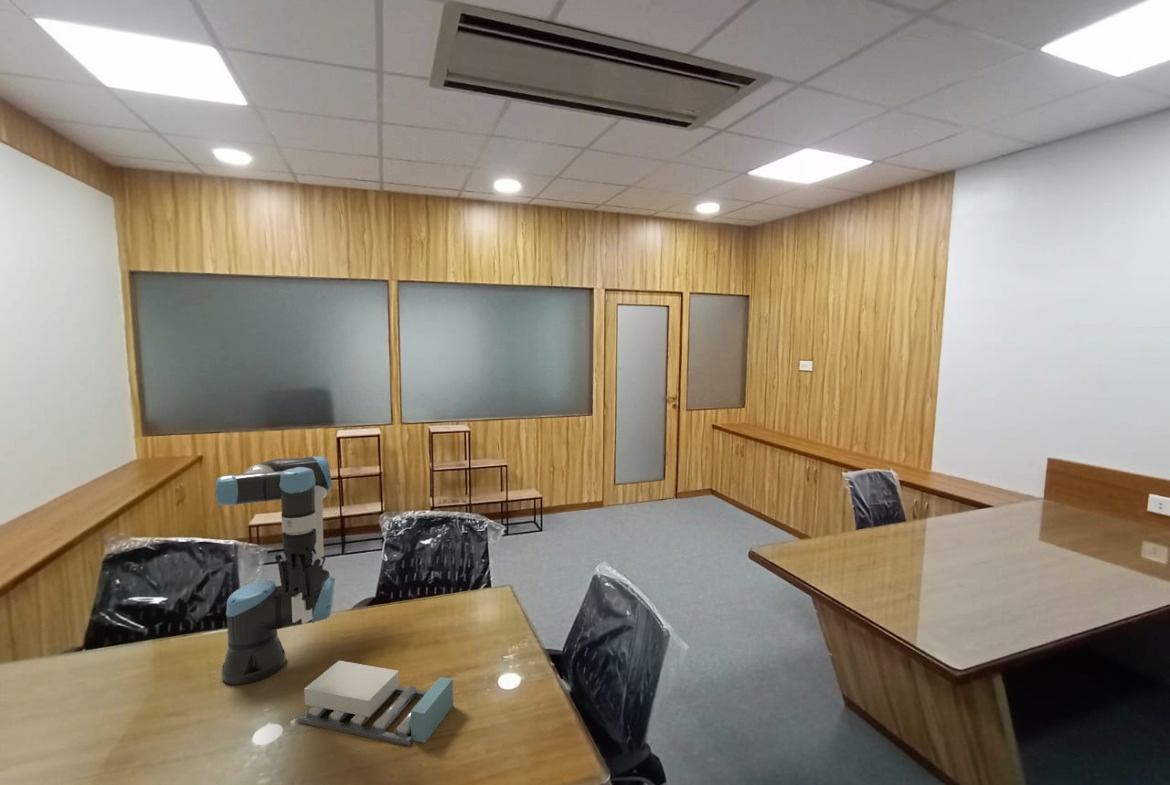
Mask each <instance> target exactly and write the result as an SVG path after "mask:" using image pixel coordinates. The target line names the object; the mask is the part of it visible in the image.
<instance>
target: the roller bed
mask: <svg viewBox="0 0 1170 785" xmlns="http://www.w3.org/2000/svg"><path fill="white" fill-rule="evenodd" d="M427 691H428V690H427ZM427 691H425V690H421V689H417V688H416V687H415V686H414V685H407V687H404V686H400V685H399V686H398V687H397V688H396V689H395V690H394V691H393V693H392V694H391V695H390V696H389V697H388V698H387V699H386V700H385V701H384V702H383V703H382V704H381V705H380V706H379V707H378V708H377V709H376V710H375V711H374V712H373V713H372V714H371V715H370V716H369V717H366V716H361V715H356V714H354V716H352V718H351V719H350V721H349V723H344V722H342V721H343V720H344V719H345V718H346V717H347V716H348V715H349V714H350V713H346V712H341V711H336V710H333V711H331V713H330V714H329V715H328V717H327V719H326V718H321V717H322V716H323V715H324V714H325V713H326V712H327V711H329V709H326V708H321V707H316V706H311V708H309V710H307V712H306V715H305V714H300V716H299V717H298V718H297V723H300V724H303V725H308V726H312V727H318V728H322V729H327V730H332V731H336V732H342V733H346V734H351V735H355V736H360V737H365V738H369V739H373V740H379V741H385V742H387V743H388V742H389V743H394V744H398V745H404V746H408V747H409V746H411V744H412V743H413V740H412V737H411V736H408V735H409V734H411V710H410V711H409V713H408V714H406V716H405V717H404V718H403V719H402V721H401V722H400V723H399V724H398V725H397V726H396V728H395V730H394V732H388V731H386V730H387V729H388V728H389V726H390V725H391V724H392V723H393V722H394V721H395V719H396V718H398V716H399V715H400V714H401V713H402V711H403V710H405V708H406V707H407V706H408V705H409V703H411V701H412V700H413V699H414V698H418V699H421V698H422V697H423V696H424V695H425V694H426V693H427ZM393 694H396V695H399V696H397V697H396V698H395V700H394V701H393V702H392V703H391V704H390V705H389V707H388V708H386V710H385V711H384V712H382V714H381V715H380V716H379V717H378V718H377V719H376V720H375V721H374V722H373V724H372V725H371V728H369V727H364V725H365V724H366V723H367V722H368V721H369V720H370V719H371V718H372V717H373V716H374V715H375V714H376V712H377V711H378V710H379V709H380V708H381V707H383V705H384V704H385V703H386V702H387V701H388V700H389V699H390V698H391V697H392V696H393Z"/></svg>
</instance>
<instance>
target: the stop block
mask: <svg viewBox="0 0 1170 785" xmlns="http://www.w3.org/2000/svg"><path fill="white" fill-rule="evenodd" d="M453 682H454V681H453V678H449V677H443V676H439V677H438V679H437V680H436V681H435V682H434V683H433V684H432V685H431V687H430V688H429V689H428V690H427V693H426V694H425V695H424V696H423V697H422V698H420V699H419V700H418V702H417V703H416V704H415V705H414V706H413V707H412V709H411V710H410V711H411V731H410V734H411V735H410V737H412V742H413V741H414V742H417V743H418V742H419V743H424V744H425V743H426V742H427V741H428V740H429V738H430V737H431V735H432V734H433V733H434V732H435V731H436V729H437V728H438V726H439V725H440V724H441V722H443V719H444V718H445V717H446V716H447V714H448V713H449V711H450V710H451V708H453V707H454V693H453V692H454V685H453Z"/></svg>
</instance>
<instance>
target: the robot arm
mask: <svg viewBox="0 0 1170 785" xmlns="http://www.w3.org/2000/svg"><path fill="white" fill-rule="evenodd" d="M330 470H331V469H330V463H329V461H328V458H326V457H325V456H313V455H311V456H307V457H306V456H305V457H295V458H294V457H293V458H292V457H291V458H278V459H277V458H276V459H271V460H266V461H264V462H260V463H257V464H254V465H252V466H250V467H248V468H247V469H245V470H244V472H243V473H241V474H229V475H224V476H223V475H222V476H220V477H218V478H217V479H216V482H215V492H214V493H215V500H216V503H217V504H218V506H223V507H224V506H237V505H244V504H254V503H260V502H261V503H262V502H273V501H280V505H281V507H280V508H281V509H280V510H281V531H282V532H283V533H282V535H281V541H282V548H283V549H284V551H283V552H281V553H279V554H277V555H275V556H274V557H275V561H276V562H277V567H278V571H279V573H278V574H279V579H280V585H277V584H276V582H275V581H273V580H266V579H265V580H260V581H255V582H252V583H249V584H245V585H244V586H242V587H240V588H238V589H236V590H235V591H233V592H231V594H230V595H229V596H228V598H227V601H226V612H225V616H226V624H227V629H226V630H227V648H228V649H227V651H226V654H225V659H224V663H222V664H223V665H222V667H221V679H223V680H222V681H223V682H225V683H226V684H228V683H229V684H228V685H234V686H235V685H239V686H240V685H246V684H252V683H255V682H259V681H261V680H264V679H267V678H268V677H270V676H273V675H274V674H275V673H277V672H278V671H280V670H281V668H282V667H284V665H285V663H286V651H285V649H284V647H283V645H282V642H281V640H280V637H279V636H278V630H280V629H286V628H290V627H296V626H300V625H305V624H314V623H315V622H320V621H323V620H327V619H328V618H329V617H330V616H331V615H332V611H333V607H334V605H333V603H334V598H335V597H334V596H335V586H336V584H335V583H336V582H335V581H336V578H335V577H334V576H330V571H329V570H328V569H326V567H324V564H325V562H326V557H325V556H324V520H323V519H324V518H323V516H324V515H323V512H324V511H323V508H324V507H323V505H324V504H323V499H325V498H326V497H327V495H328V491H330V490H331V489H333V483H332V482H333V481H332V476H331V471H330ZM283 664H284V665H283Z"/></svg>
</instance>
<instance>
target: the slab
mask: <svg viewBox="0 0 1170 785" xmlns="http://www.w3.org/2000/svg"><path fill="white" fill-rule="evenodd" d="M399 672H400V671H399V670H396V669H391V668H384V667H379V666H374V665H368V664H360V663H356V662H349V661H344V660H337V662H335V663H334V664H333V665H331V666H330V667H329V668H328V669H327V670H325V671H324V672H323V673H322V674H321V675H319V676H318V677H317V678H316V679H314V680H313V681H311V683H310V684H308V685H306V686H305V687H304V688H303V691H304V705H307V706H311V707H313V706H316V707H321V708H326V709H328V710H333V711H334V710H336V711H341V712H346V713H349V714H350V715H351V714H353V715H361V716H366V717H369V716H370V715H371V714H372V713H373V712H374V711H375V710H376V709H377V708H378V707H379V706H380V705H381V704H382V703H383V702H384V701H385V700H386V699H387V698H388V697H389V696H390V695H391V694H392V693H393V691H394V690H395V689H396V688H397V687H398V686H399V687H400V673H399ZM393 694H394V693H393Z"/></svg>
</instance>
